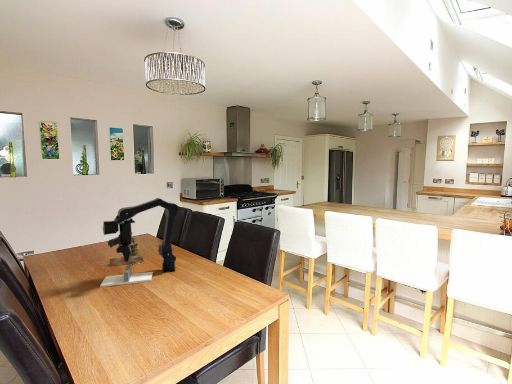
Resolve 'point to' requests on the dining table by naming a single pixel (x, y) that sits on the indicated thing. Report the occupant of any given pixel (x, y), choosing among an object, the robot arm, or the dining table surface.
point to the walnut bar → (122, 261)
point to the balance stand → (127, 278)
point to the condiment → (134, 251)
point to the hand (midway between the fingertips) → (127, 260)
